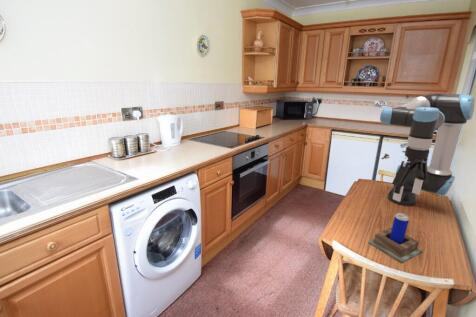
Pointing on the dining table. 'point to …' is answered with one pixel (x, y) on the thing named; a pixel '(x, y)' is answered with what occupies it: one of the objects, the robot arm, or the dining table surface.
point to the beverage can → (399, 228)
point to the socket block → (396, 246)
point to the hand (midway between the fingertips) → (406, 196)
